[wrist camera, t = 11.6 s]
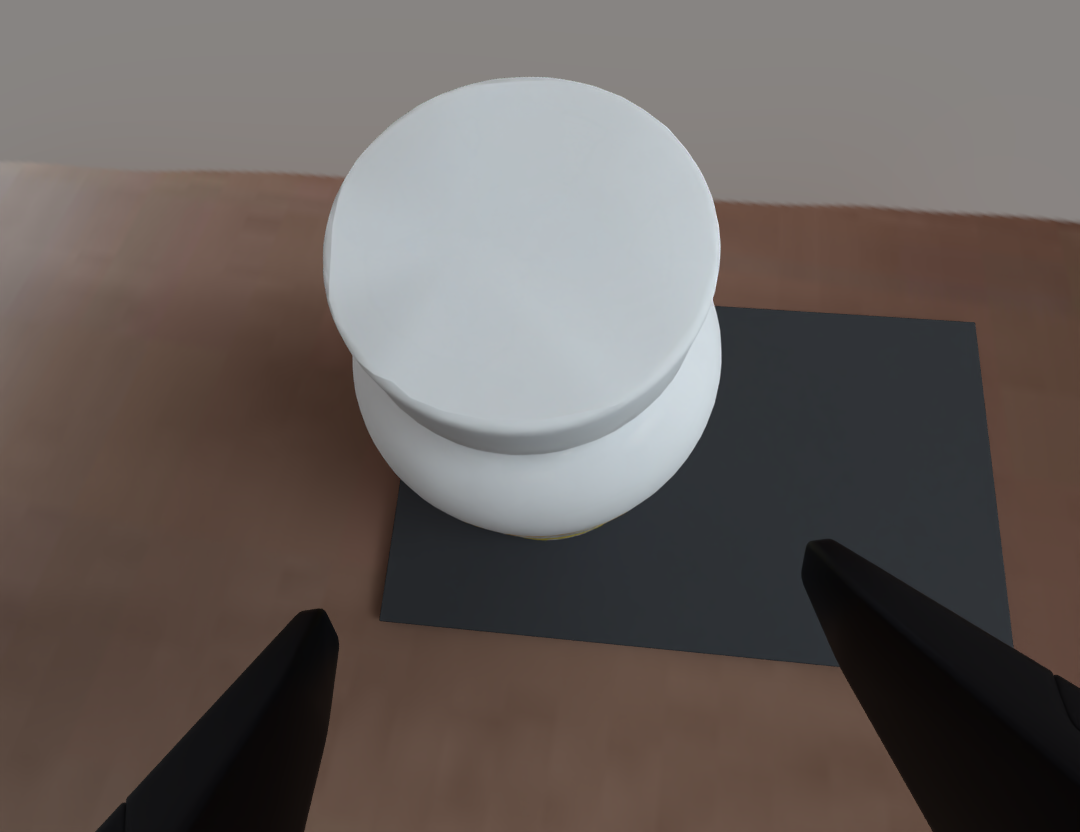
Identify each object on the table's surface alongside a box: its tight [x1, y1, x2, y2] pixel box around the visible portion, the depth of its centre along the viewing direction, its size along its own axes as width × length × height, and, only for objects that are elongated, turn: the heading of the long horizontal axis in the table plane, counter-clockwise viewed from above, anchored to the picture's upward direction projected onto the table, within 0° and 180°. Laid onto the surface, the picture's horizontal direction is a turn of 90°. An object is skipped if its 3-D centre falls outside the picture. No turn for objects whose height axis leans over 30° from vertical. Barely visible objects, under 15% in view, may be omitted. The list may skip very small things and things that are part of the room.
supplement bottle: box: [323, 77, 721, 540], centre depth 12 cm, size 7×7×13 cm
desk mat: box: [379, 306, 1013, 667], centre depth 18 cm, size 20×12×1 cm, turn 85°
